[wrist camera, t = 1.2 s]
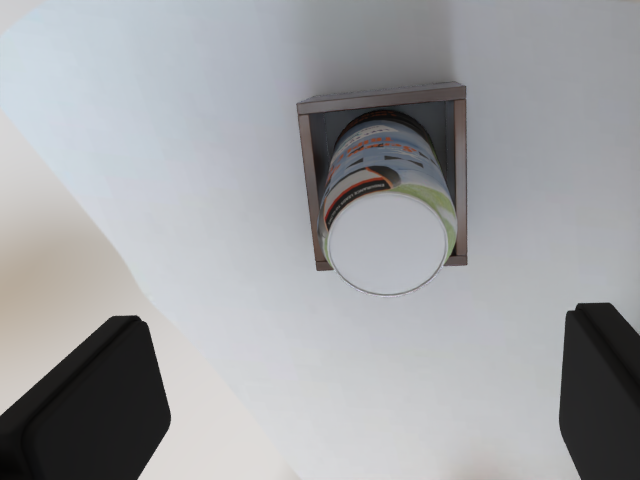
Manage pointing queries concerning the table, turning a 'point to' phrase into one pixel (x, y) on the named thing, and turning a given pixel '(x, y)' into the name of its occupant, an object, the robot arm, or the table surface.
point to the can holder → (449, 92)
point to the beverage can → (386, 206)
